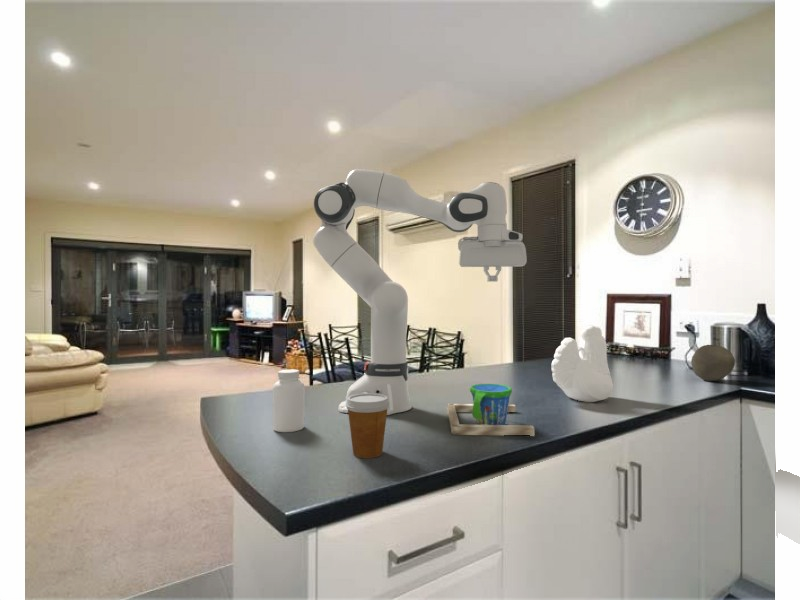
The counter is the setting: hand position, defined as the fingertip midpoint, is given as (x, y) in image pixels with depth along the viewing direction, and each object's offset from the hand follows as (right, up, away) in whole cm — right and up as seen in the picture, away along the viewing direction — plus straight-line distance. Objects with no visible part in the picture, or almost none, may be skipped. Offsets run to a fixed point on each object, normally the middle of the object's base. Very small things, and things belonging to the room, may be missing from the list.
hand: (492, 281), depth 130 cm
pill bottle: (-57, -39, -20) cm, 72 cm away
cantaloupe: (+101, -40, +46) cm, 118 cm away
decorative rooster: (+31, -39, +12) cm, 51 cm away
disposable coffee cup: (-35, -39, -38) cm, 65 cm away
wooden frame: (-5, -39, -14) cm, 42 cm away
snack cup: (-4, -39, -18) cm, 43 cm away
